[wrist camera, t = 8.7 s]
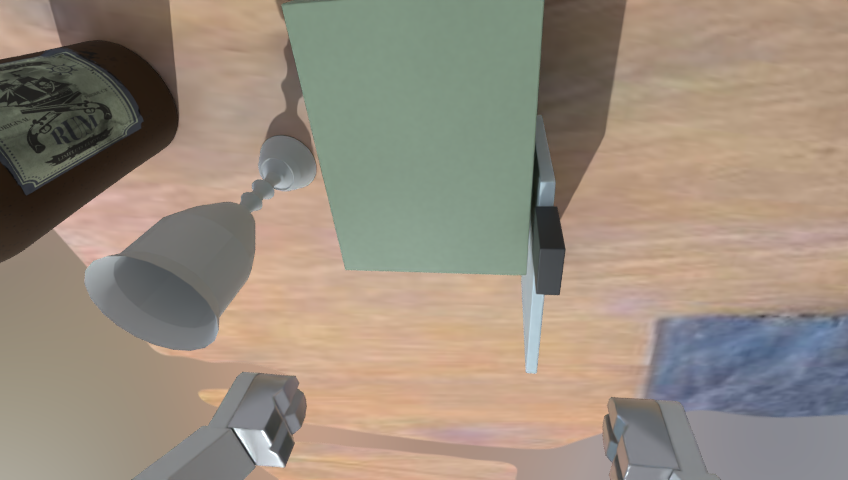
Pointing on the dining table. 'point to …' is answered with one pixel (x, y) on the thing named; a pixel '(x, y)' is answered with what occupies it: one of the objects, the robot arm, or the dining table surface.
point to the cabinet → (423, 127)
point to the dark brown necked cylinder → (73, 132)
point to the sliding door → (541, 248)
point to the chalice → (193, 259)
